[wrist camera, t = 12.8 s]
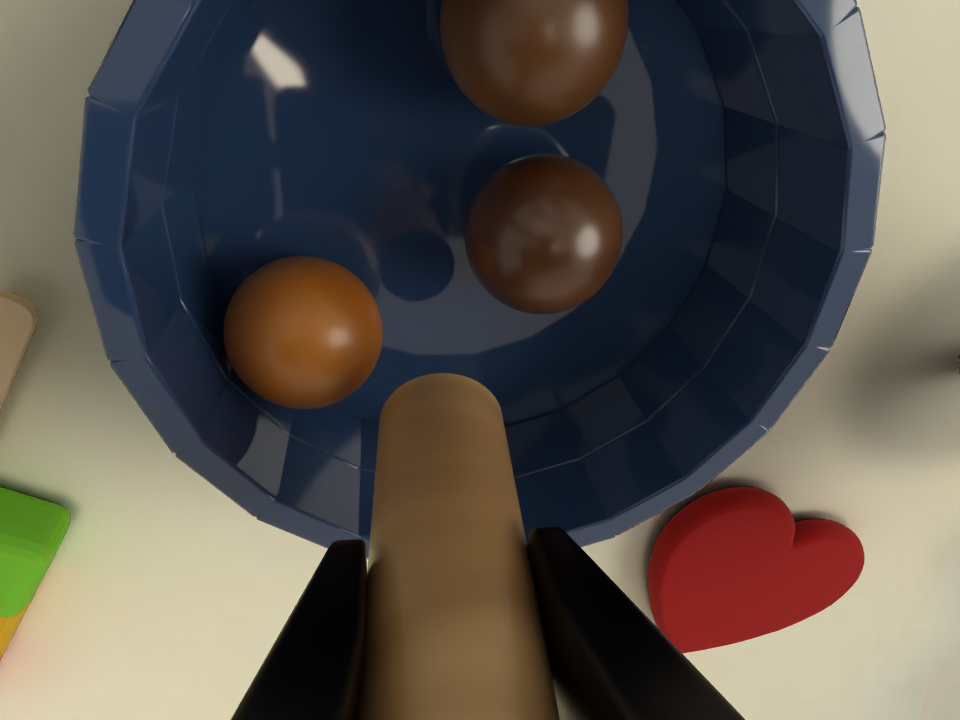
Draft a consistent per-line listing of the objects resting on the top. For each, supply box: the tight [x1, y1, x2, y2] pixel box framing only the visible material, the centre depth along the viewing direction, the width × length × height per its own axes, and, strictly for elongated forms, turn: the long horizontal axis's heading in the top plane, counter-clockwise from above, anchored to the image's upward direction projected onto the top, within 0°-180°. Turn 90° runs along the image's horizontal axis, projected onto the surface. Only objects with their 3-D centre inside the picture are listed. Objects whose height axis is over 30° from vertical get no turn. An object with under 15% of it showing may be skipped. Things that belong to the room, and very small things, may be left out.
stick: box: [358, 373, 560, 720], centre depth 7 cm, size 2×2×9 cm
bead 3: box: [464, 154, 623, 314], centre depth 12 cm, size 3×3×3 cm
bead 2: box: [440, 0, 629, 127], centre depth 10 cm, size 3×3×3 cm
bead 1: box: [223, 256, 383, 409], centre depth 12 cm, size 3×3×3 cm
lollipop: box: [647, 487, 864, 653], centre depth 22 cm, size 8×1×15 cm
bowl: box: [73, 0, 886, 559], centre depth 12 cm, size 12×12×4 cm
